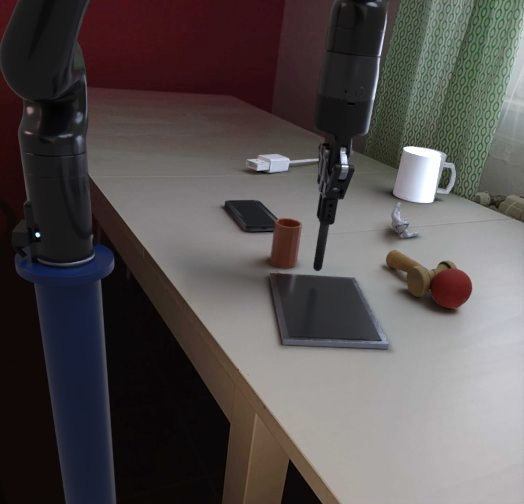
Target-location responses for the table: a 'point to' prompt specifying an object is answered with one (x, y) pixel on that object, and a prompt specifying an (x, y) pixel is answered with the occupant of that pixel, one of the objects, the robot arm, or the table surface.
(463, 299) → the kendama
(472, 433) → the table surface
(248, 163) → the charging cable
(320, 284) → the tablet
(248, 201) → the phone
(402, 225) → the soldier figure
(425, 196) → the mug
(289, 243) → the pen cup
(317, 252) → the stylus
